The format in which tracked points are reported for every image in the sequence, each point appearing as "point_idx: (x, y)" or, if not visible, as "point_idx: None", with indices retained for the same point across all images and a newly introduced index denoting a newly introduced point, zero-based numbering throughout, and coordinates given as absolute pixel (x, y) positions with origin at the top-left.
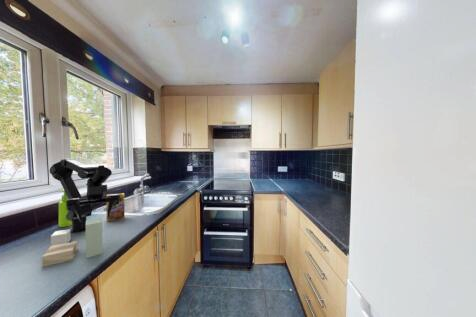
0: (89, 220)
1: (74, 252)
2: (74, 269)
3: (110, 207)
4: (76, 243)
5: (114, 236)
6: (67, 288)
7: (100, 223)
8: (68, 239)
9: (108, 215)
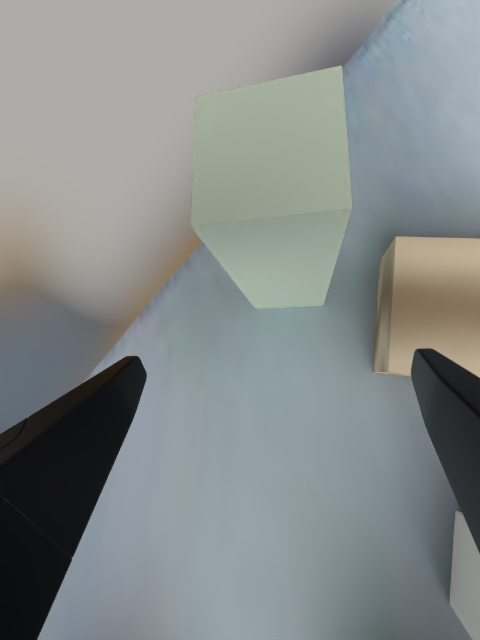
0: (314, 206)
1: (382, 294)
2: (356, 166)
3: (9, 436)
4: (388, 340)
5: (190, 433)
6: (359, 55)
7: (212, 104)
8: (465, 563)
9: (124, 360)
